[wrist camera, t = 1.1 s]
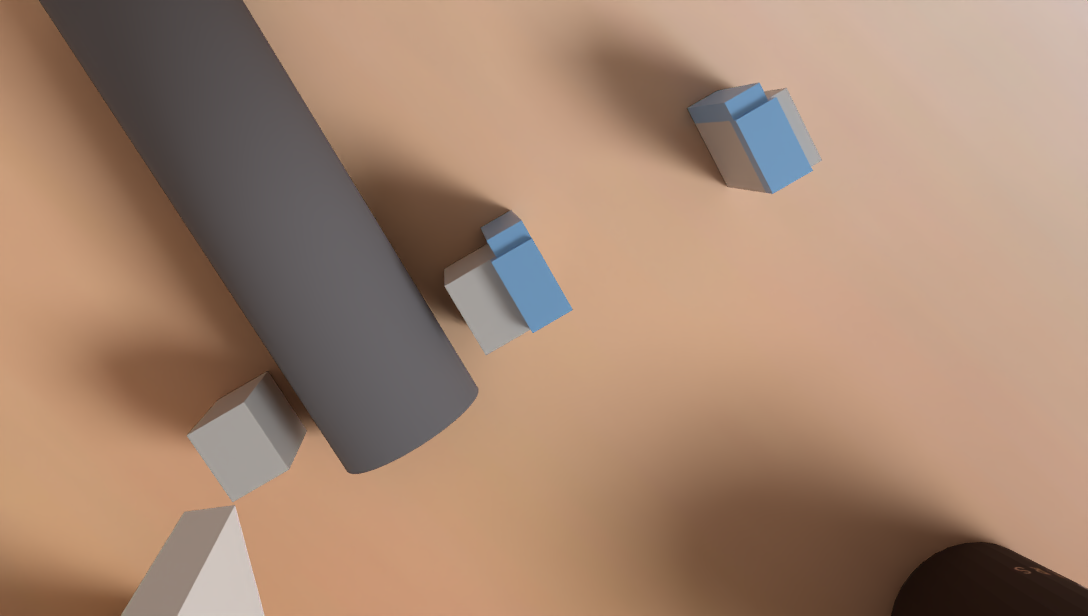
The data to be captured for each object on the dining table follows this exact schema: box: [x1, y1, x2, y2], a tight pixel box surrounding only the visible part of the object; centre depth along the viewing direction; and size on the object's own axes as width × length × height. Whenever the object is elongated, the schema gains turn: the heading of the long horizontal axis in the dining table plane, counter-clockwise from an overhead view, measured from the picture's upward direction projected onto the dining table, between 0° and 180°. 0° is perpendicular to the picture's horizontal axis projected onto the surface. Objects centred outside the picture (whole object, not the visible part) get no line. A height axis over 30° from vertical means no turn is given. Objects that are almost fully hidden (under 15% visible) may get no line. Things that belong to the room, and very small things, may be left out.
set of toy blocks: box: [187, 83, 822, 502], centre depth 30 cm, size 21×3×5 cm, turn 119°
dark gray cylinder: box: [39, 0, 478, 474], centre depth 29 cm, size 5×17×5 cm, turn 29°
